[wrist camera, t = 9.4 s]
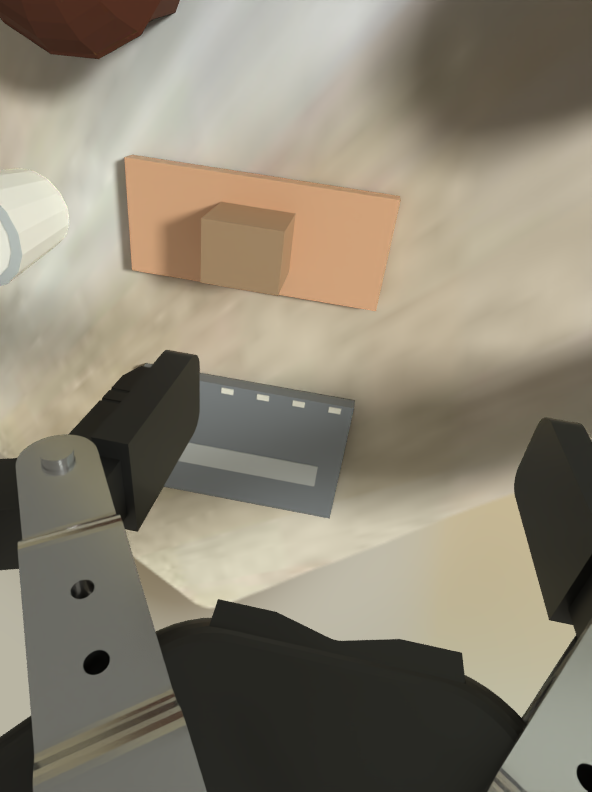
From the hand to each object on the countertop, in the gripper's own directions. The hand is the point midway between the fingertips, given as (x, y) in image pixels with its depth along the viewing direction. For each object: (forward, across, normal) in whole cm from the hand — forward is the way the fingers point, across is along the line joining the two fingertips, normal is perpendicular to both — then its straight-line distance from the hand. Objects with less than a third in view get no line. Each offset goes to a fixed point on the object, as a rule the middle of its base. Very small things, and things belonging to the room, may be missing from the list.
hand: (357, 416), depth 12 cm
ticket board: (+25, +8, +22) cm, 35 cm away
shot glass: (+25, +25, +4) cm, 36 cm away
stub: (+25, +8, +3) cm, 26 cm away
